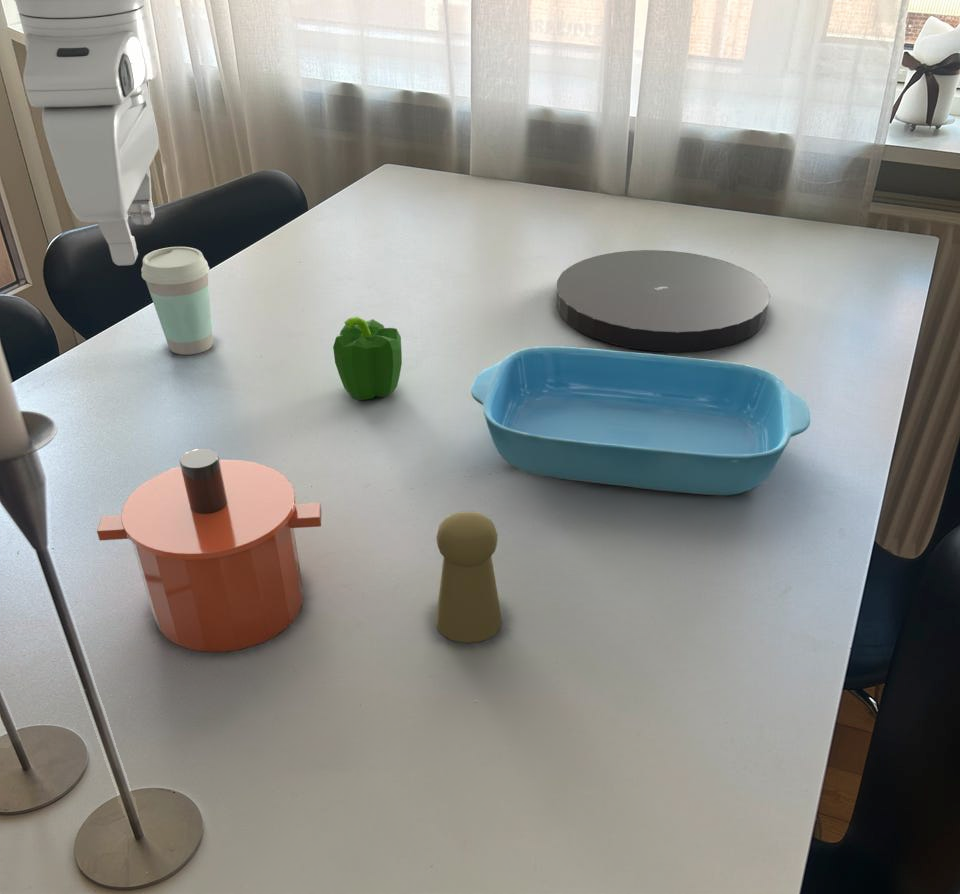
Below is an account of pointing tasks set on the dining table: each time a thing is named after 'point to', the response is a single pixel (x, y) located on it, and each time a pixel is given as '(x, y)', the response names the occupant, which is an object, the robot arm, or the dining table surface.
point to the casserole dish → (639, 418)
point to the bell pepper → (368, 358)
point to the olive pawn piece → (467, 578)
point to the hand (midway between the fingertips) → (135, 241)
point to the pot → (224, 588)
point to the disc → (662, 300)
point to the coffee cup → (180, 297)
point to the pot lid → (208, 507)
